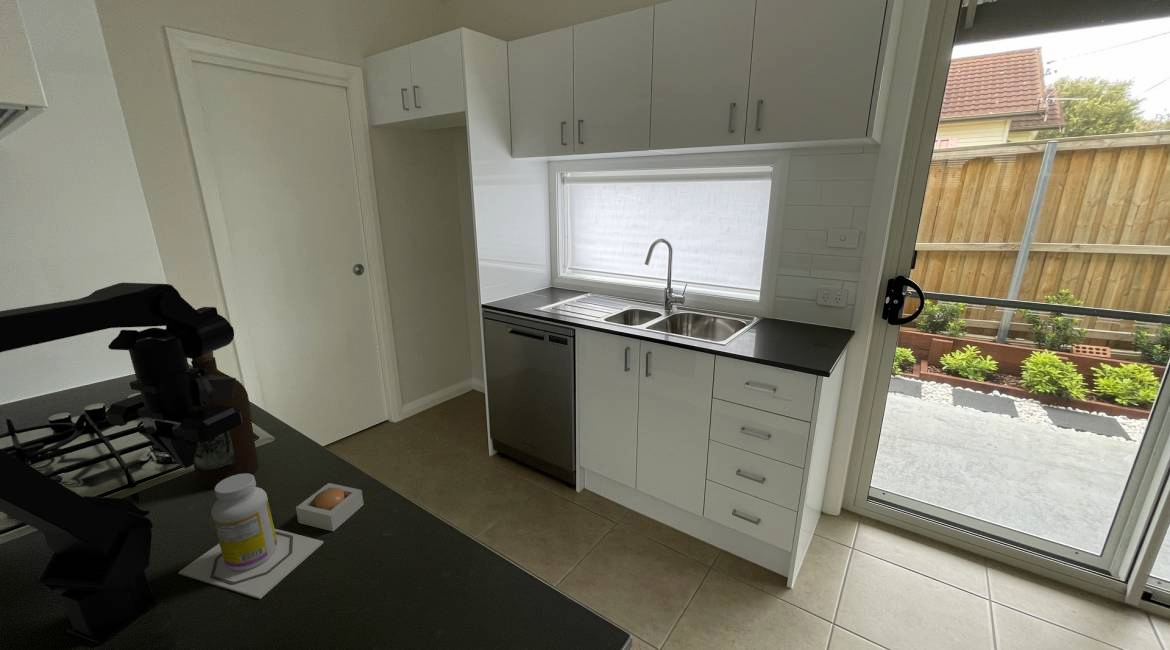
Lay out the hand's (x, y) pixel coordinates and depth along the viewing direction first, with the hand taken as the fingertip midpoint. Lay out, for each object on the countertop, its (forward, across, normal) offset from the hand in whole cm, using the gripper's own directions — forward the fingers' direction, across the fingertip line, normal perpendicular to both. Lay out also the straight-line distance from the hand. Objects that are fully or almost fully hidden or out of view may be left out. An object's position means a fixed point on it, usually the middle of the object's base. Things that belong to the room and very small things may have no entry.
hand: (187, 466), depth 71 cm
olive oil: (+13, +13, -14) cm, 23 cm away
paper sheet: (+13, -11, +1) cm, 17 cm away
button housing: (+13, -14, -10) cm, 22 cm away
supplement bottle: (+13, -11, +1) cm, 17 cm away
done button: (+12, -15, -10) cm, 22 cm away
